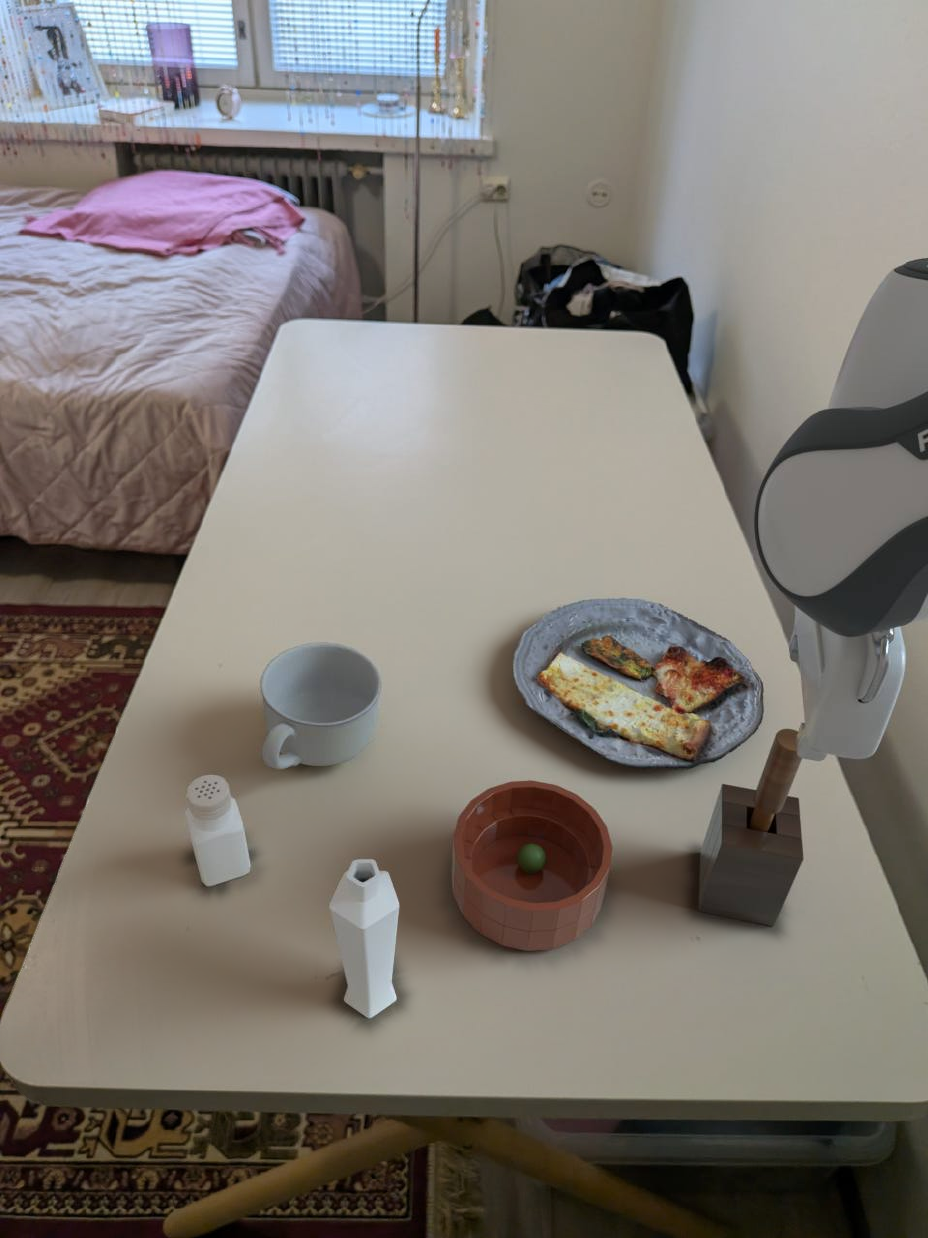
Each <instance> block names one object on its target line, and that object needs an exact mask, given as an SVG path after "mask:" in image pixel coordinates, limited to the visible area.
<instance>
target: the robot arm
mask: <svg viewBox="0 0 928 1238" xmlns="http://www.w3.org/2000/svg"><path fill="white" fill-rule="evenodd" d="M757 492H758V493H757V496H756V501H755V506H754V516H753V530H754V539H755V544H756V549H757V552H758V553H757V554H758V556H759V560H760V562H761V564H762V566H763V568H764V570H765V573H766V574H767V576H768V577H769V579H770V581H771V582H772V583H773V584H774V585H775V586H776V588H777V589H778V591H779V592H781V593H782V595H783V596H784V597H785V598H786V599H787V600H788V601H789V602H790V603H791V604H793V606H794V615H795V616H794V623H793V630H792V634H791V637H790V639H789V641H788V653H789V659H790V660H791V662H793V663H797V664H798V663H799V671H800V672H799V673H800V684H801V694H802V706H803V717H804V718H803V719H804V722H801V723H800V726H799V728H798V734H797V736H796V746H797V755H798V756H799V757H800V758H802V759H804V760H810V761H815V762H821V761H824V760H826V758H827V756H828V755H829V756H834V757H839V758H844V759H853V760H864V759H867V758H870V757H872V756H874V754H875V753H876V751H877V749H878V748H879V746H880V743H881V741H882V738H883V736H884V734H885V731H886V729H887V726H888V724H889V721H890V718H891V716H892V713H893V711H894V708H895V705H896V702H897V701H898V697H899V694H900V691H901V687H902V684H903V681H904V676H905V671H906V660H907V655H906V645H905V641H904V637H903V636H904V635H903V631H902V628H901V627H904V626H907V625H909V624H910V623H913V622H921V621H927V620H928V257H923V258H917V259H913V260H910V261H906V262H905V263H903V264H901V265H898V266H897V267H895V268H893V269H892V270H891V271H889V272H888V273H887V274H886V275H885V277H884V278H883V279H882V281H881V282H880V283H879V284H878V286H877V288H876V290H875V291H874V292H873V294H872V295H871V297H870V299H869V301H868V302H867V305H866V307H865V309H864V310H863V313H862V315H861V316H860V319H859V321H858V323H857V325H856V328H855V330H854V332H853V335H852V337H851V340H850V342H849V345H848V348H847V350H846V353H845V355H844V357H843V360H842V363H841V366H840V369H839V371H838V375H837V378H836V381H835V384H834V387H833V389H832V393H831V396H830V399H829V402H828V406H827V408H826V409H825V408H824V409H822V410H818V411H817V412H814V413H813V414H811V415H809V416H808V417H807V418H806V419H805V420H804V421H803V422H802V423H801V424H800V425H799V426H798V427H797V428H796V429H795V431H794V432H793V433H792V434H791V435H790V437H789V438H788V439H787V440H786V441H785V443H784V444H783V445H782V446H781V448H780V449H779V451H778V452H777V454H776V456H775V457H774V459H773V460H772V461H771V463H770V465H769V467H768V469H767V470H766V473H765V475H764V476H763V479H762V481H761V484H760V485H759V489H758V491H757Z"/></svg>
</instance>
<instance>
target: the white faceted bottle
mask: <svg viewBox="0 0 928 1238" xmlns="http://www.w3.org/2000/svg"><path fill="white" fill-rule="evenodd" d="M329 911H330V915H331V919H332V924H333V929H334V931H335V936H336V941H337V945H338V949H339V955H340V958H341V962H342V966H343V970H344V977H345V979H346V984H347V987H346V988H347V989H346V991H345V994H344V996H343V1001H344V1002H345V1004H347V1005H349V1006H350V1007H351V1008H353V1009H354V1010H356V1011H357V1012H358V1013H360V1014H361V1015H363V1016H364V1017H365V1018H367V1019H372V1018H374V1017H375V1016H377V1014H379V1013H381V1012H382V1011H383V1010H385V1009H386V1008H388V1007H389V1006H390V1005H392V1004H394V1003H395V1002H396V1001H397V998H398V997H397V994H396V991H395V988H394V985H393V981H392V980H393V971H394V961H395V953H396V952H395V951H396V945H397V944H396V942H397V934H398V925H399V924H398V923H399V913H400V901H399V899H398V896H397V892H396V890H395V887H394V884H393V882H392V879H391V876H390V873H389V872H388V871H387V870H379V865H378V863H377V861H376V860H375V859H372V858H363V859H360V858H359V859H353V861H352V862H351V864H350V866H349V868H348V870H347V871H345V872H343V874H342V876H341V879H340V881H339V883H338V885H337V887H336V889H335V891H334V894H333V896H332V898H331V900H330V902H329Z"/></svg>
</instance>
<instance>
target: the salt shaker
mask: <svg viewBox="0 0 928 1238" xmlns="http://www.w3.org/2000/svg"><path fill="white" fill-rule="evenodd" d="M186 800H187V805H188V808H187V809H186V811H185V813H184V815H185V816H184V817H185V820H186V824H187V829H188V833H189V837H190V841H191V845H192V849H193V854H194V857H195V860H196V864H197V868H198V872H199V875H200V879H201V882H202V883H203V884H204V885H205V886H206V887H214V886H217V885H219V884H222V883H225V882H228V881H231V880H235V879H238V878H240V877H243V876H246V875H247V874H249V873H250V871H251V867H252V866H251V865H252V864H251V860H250V854H249V853H250V852H249V848H248V842H247V838H246V833H245V832H246V831H245V827H244V823H243V819H242V817H241V814H240V809H239V807H238V804H237V801H236V798H234V797H232V795H231V789H230V785H229V782H227V781H226V779H225V778H224V777H222V776H220V775H217V774H205V775H203V774H202V775H201V776H199V777H198V778H196V779H194V780H192V781H191V783H190V784H189V786H188V787H187V788H186Z"/></svg>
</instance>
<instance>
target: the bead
mask: <svg viewBox="0 0 928 1238" xmlns="http://www.w3.org/2000/svg"><path fill="white" fill-rule="evenodd" d="M517 862H518V865H519V866H520V868H521V869H522V870H523V871H525V872H527V873H537V872H539V871H540V870H542V868H543V867H544V865H545V863H546V854H545V852H544V850H543V849H542V848H541V847H540V846H539V845H537V844H533V843H530V844H526V845H524V846H523V847H521V849H520V850H519V852H518V855H517Z"/></svg>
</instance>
